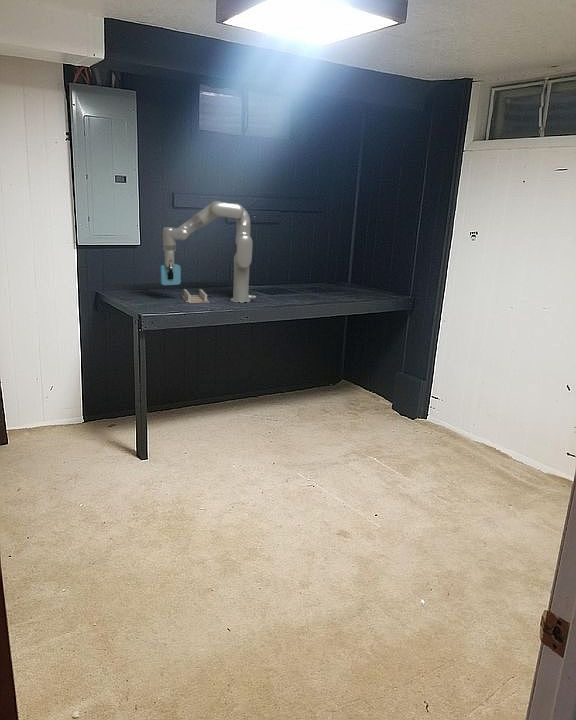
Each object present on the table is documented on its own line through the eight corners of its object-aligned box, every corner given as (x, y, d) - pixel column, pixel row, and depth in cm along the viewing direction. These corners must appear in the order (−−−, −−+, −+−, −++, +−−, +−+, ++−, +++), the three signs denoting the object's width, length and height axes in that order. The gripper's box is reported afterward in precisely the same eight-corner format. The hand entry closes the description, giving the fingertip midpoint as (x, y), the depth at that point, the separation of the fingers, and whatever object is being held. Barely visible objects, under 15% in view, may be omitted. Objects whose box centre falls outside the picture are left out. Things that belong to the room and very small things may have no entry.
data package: (178, 283, 363) (178, 264, 360) (180, 284, 359) (180, 265, 356) (159, 284, 358) (159, 264, 354) (161, 285, 354) (161, 265, 350)
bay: (181, 296, 373) (181, 289, 371) (203, 296, 377) (203, 289, 376) (186, 302, 355) (186, 294, 353) (209, 302, 359) (209, 295, 358)
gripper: (161, 246, 359) (162, 276, 364) (164, 249, 343) (165, 280, 348) (174, 246, 361) (174, 276, 366) (177, 249, 345) (178, 280, 351)
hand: (170, 277), depth 357 cm, fingers closed on data package, 5 cm apart
